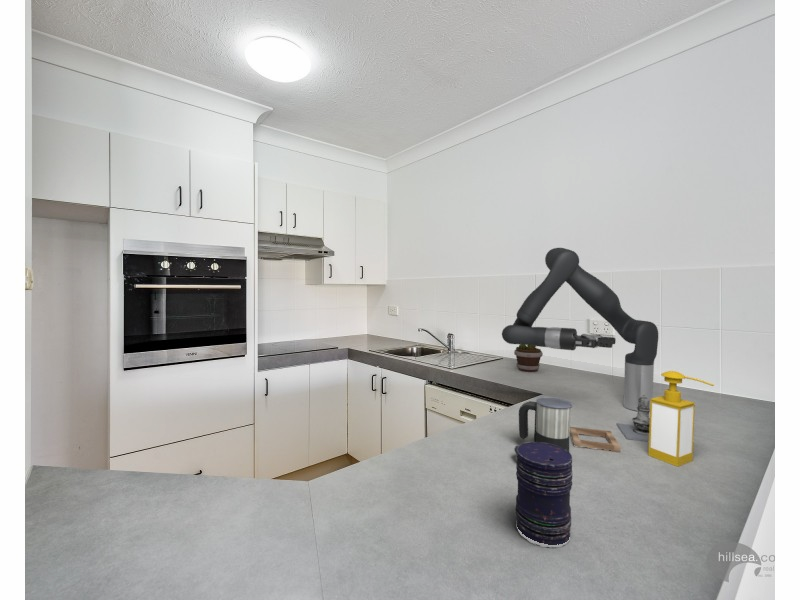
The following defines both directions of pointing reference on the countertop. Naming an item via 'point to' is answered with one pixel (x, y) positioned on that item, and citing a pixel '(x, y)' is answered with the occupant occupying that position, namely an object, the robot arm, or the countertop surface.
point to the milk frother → (547, 421)
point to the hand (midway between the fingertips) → (613, 342)
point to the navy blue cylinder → (544, 492)
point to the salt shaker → (642, 417)
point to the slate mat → (631, 432)
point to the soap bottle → (672, 423)
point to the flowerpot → (528, 357)
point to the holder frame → (611, 439)
